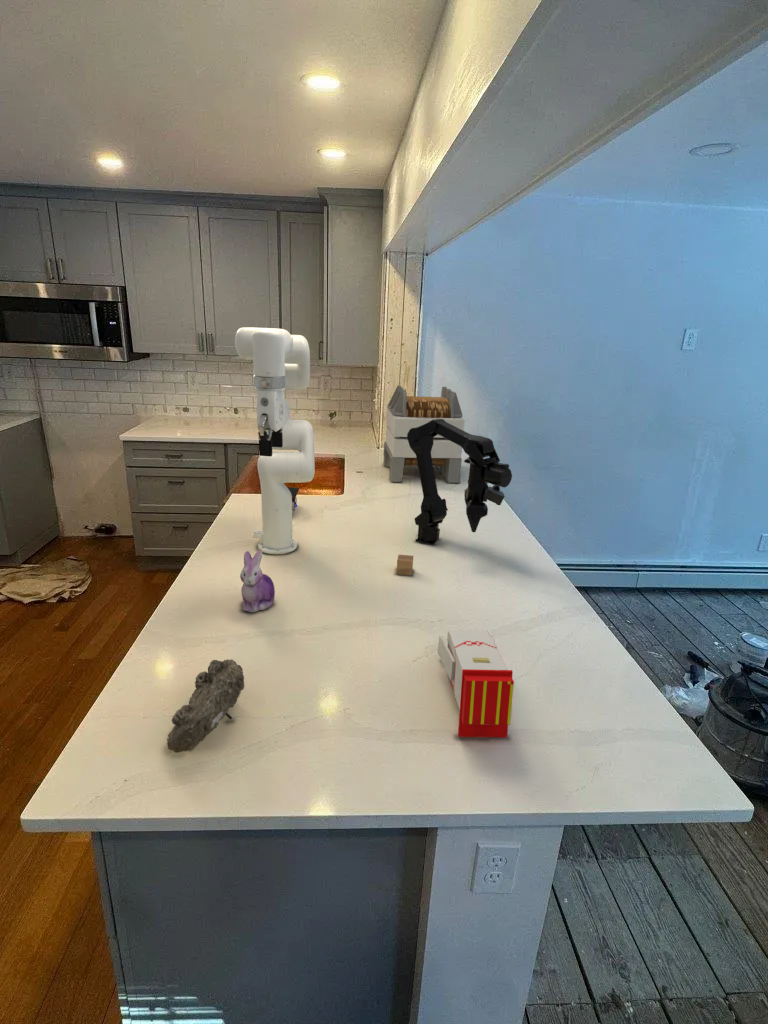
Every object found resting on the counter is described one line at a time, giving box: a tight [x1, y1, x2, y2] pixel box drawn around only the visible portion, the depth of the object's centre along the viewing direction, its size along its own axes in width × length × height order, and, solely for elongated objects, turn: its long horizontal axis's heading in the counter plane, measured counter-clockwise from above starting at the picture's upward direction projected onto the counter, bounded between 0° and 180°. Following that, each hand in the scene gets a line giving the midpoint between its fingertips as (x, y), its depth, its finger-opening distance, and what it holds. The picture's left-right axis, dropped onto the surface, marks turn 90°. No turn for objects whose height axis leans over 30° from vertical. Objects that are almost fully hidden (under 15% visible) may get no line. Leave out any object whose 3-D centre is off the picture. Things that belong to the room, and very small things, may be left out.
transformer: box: [383, 384, 465, 484], centre depth 268 cm, size 34×33×41 cm
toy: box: [437, 628, 515, 738], centre depth 117 cm, size 12×13×30 cm
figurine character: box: [286, 486, 300, 512], centre depth 216 cm, size 7×8×15 cm
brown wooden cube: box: [396, 554, 414, 577], centre depth 170 cm, size 4×5×5 cm
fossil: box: [166, 658, 245, 754], centre depth 106 cm, size 22×10×15 cm
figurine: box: [239, 549, 276, 613], centre depth 146 cm, size 9×10×15 cm
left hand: (271, 451), depth 145 cm, fingers open, 9 cm apart
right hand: (472, 526), depth 179 cm, fingers open, 9 cm apart
